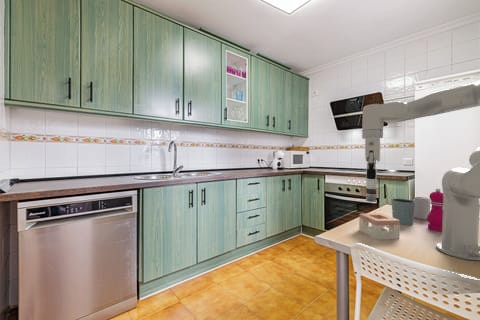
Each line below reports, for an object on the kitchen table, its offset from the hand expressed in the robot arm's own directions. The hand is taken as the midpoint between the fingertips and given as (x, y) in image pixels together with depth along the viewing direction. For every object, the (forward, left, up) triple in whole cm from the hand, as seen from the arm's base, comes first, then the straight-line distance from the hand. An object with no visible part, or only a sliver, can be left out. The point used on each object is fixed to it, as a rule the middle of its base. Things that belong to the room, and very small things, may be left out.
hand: (371, 177), depth 92 cm
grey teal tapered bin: (+20, -33, -27) cm, 47 cm away
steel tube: (0, 0, -10) cm, 10 cm away
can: (+26, -50, -27) cm, 63 cm away
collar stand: (+6, -8, -26) cm, 28 cm away
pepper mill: (+9, -41, -27) cm, 50 cm away
